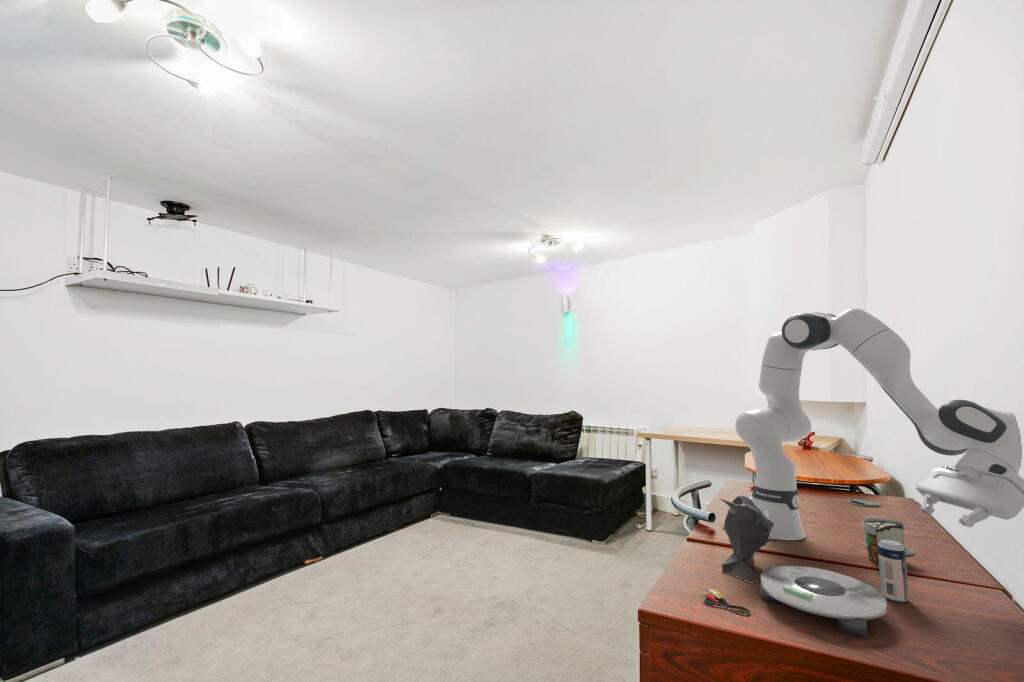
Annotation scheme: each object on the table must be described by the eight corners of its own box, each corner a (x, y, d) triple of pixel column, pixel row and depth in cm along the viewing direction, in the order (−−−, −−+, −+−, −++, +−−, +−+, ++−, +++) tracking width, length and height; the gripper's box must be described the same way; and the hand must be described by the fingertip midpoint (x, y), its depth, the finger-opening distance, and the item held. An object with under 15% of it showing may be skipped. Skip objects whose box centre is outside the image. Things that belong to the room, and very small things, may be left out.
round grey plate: (740, 600, 101) (739, 573, 102) (795, 578, 113) (794, 554, 113) (855, 649, 83) (853, 617, 83) (908, 617, 94) (906, 589, 94)
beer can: (914, 604, 99) (910, 546, 100) (889, 602, 100) (885, 545, 101) (900, 594, 104) (896, 539, 105) (876, 592, 105) (872, 537, 106)
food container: (882, 552, 130) (879, 515, 131) (907, 560, 124) (904, 521, 125) (852, 558, 125) (849, 520, 126) (877, 566, 120) (874, 527, 120)
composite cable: (753, 615, 95) (752, 603, 95) (739, 622, 93) (738, 609, 93) (711, 596, 104) (710, 585, 104) (697, 602, 101) (696, 590, 102)
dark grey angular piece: (792, 572, 116) (789, 499, 118) (751, 583, 109) (747, 505, 111) (742, 553, 129) (740, 487, 130) (702, 562, 122) (700, 493, 124)
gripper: (930, 456, 115) (894, 496, 114) (1021, 472, 95) (978, 521, 94) (949, 474, 115) (913, 514, 114) (1044, 494, 95) (1002, 543, 94)
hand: (943, 518), depth 104 cm, fingers open, 8 cm apart
